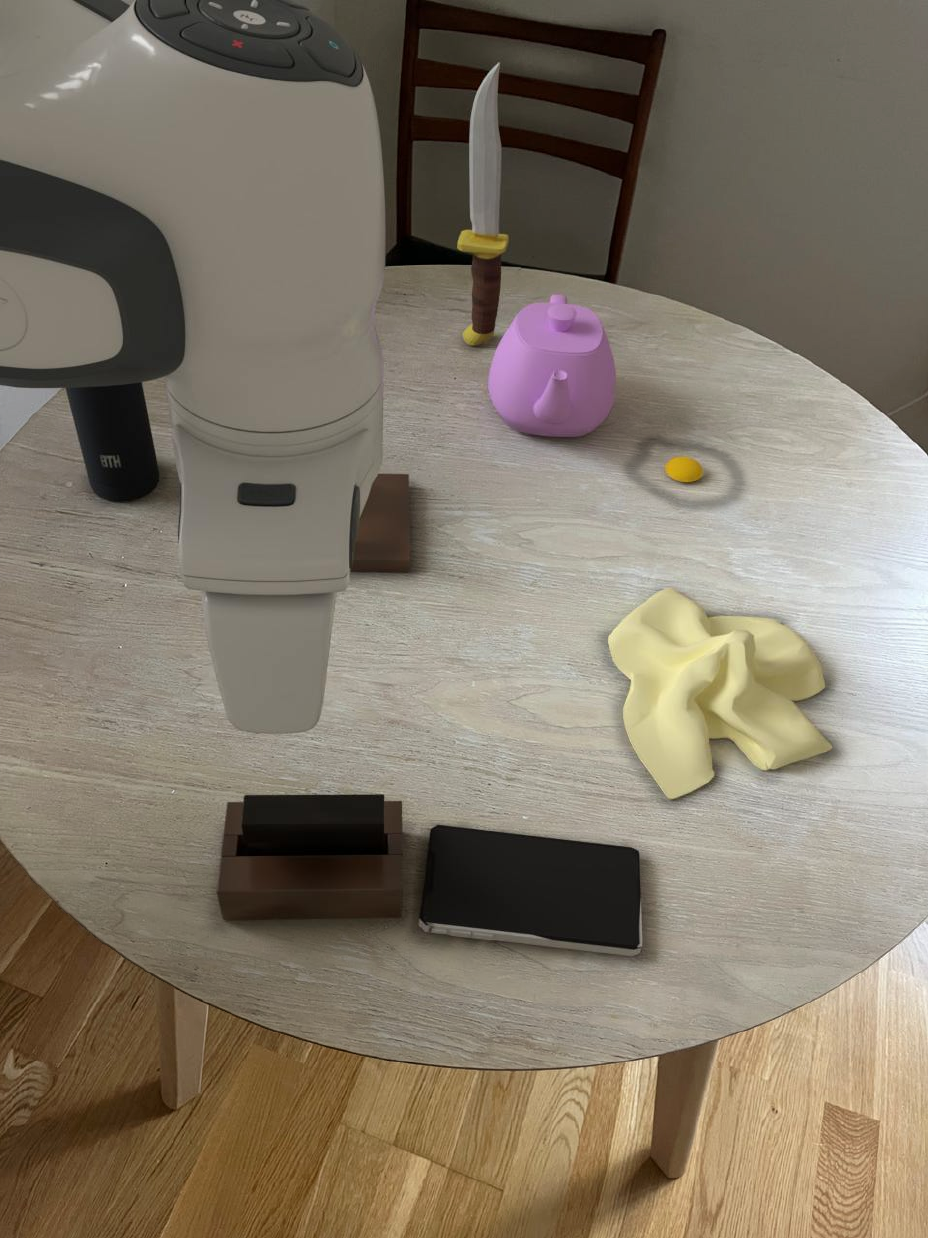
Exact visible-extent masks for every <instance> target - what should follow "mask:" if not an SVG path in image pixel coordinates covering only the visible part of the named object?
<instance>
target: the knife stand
mask: <svg viewBox="0 0 928 1238" xmlns="http://www.w3.org/2000/svg"><path fill="white" fill-rule="evenodd" d="M242 808H243V801H227V803H226V810H225V818H224V825H223V834H222V835H223V836H222V841H221V850H220V859H219V868H218V875H217V883H216V895H217V899H218V900H217V901H218V905H219V909H220V913H221V914H220V915H221V917H222V920H223V921H268V920H269V921H271V920H273V921H274V920H275V921H276V920H277V921H278V920H333V919H335V920H336V919H337V920H338V919H340V920H341V919H342V920H343V919H393V918H394V919H397V918H399V919H401V918H403V900H404V899H403V898H404V896H403V895H404V857H403V856H404V851H403V850H404V848H403V847H404V846H403V845H404V844H403V843H404V842H403V840H404V839H403V834H404V833H403V830H404V829H403V801H402V800H384V855H324V856H249V850H248V845H247V843H244V839H243V834H242V828H241V817H242Z"/></svg>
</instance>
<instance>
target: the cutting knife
mask: <svg viewBox="0 0 928 1238" xmlns="http://www.w3.org/2000/svg"><path fill="white" fill-rule="evenodd" d="M242 800H243V801H242V802H243V808H242V817H241V828H242V834H243V839H244V843H247V845H248V850H249V856H324V855H384V801H385V794H383V793H381V794H379V793H378V794H377V793H374V794H373V793H372V794H366V793H365V794H359V793H358V794H244V795H243V799H242Z"/></svg>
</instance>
